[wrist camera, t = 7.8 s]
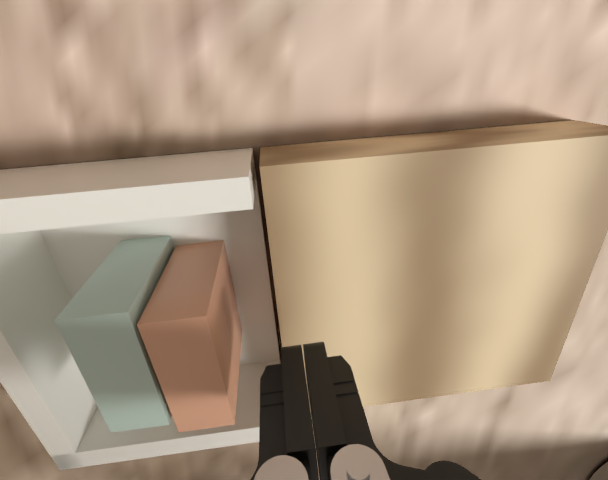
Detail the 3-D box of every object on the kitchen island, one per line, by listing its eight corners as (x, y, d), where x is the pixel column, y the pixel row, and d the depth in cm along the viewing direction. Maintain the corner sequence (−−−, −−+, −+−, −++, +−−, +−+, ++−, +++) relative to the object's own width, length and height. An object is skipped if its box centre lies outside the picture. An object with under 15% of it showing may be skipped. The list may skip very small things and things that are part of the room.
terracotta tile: (206, 316, 10) (136, 324, 10) (234, 424, 12) (178, 432, 12) (224, 240, 14) (176, 245, 14) (242, 329, 17) (201, 335, 17)
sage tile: (127, 312, 10) (54, 320, 9) (169, 424, 12) (110, 432, 12) (170, 235, 14) (121, 240, 14) (195, 328, 16) (152, 333, 16)
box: (252, 147, 13) (248, 176, 10) (281, 367, 19) (285, 437, 15) (-9, 170, 13) (-117, 210, 9) (100, 391, 18) (59, 470, 14)
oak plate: (572, 120, 14) (645, 131, 11) (511, 338, 20) (550, 380, 17) (260, 147, 13) (259, 166, 11) (286, 367, 19) (290, 416, 16)
